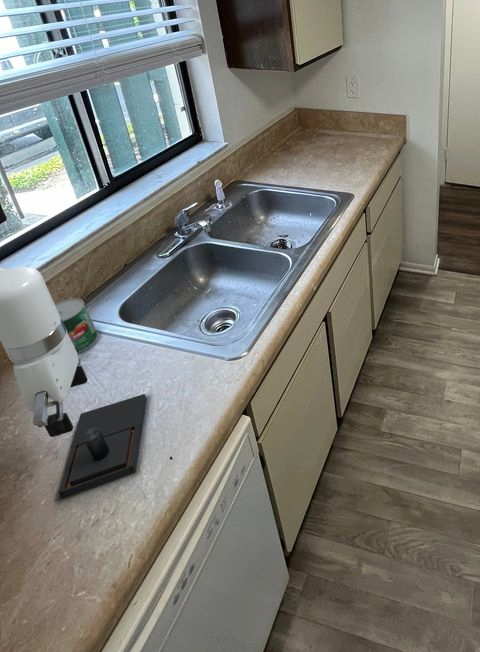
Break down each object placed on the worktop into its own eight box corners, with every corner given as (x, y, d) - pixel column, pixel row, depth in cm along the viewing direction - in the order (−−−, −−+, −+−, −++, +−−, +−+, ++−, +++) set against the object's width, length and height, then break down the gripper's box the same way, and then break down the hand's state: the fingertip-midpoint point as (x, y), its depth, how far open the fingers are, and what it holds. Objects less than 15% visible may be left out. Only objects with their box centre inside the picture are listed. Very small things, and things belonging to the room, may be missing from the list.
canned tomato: (88, 325, 115) (74, 293, 111) (104, 337, 112) (90, 305, 107) (54, 347, 109) (37, 314, 104) (70, 360, 106) (54, 327, 101)
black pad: (71, 486, 80) (56, 462, 77) (81, 449, 86) (68, 426, 82) (127, 466, 83) (115, 442, 79) (132, 432, 89) (122, 409, 85)
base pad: (60, 499, 79) (57, 493, 78) (83, 419, 92) (80, 413, 91) (135, 472, 83) (133, 466, 82) (146, 399, 96) (144, 393, 95)
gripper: (27, 307, 76) (60, 374, 84) (-17, 391, 62) (27, 463, 69) (77, 295, 79) (105, 362, 86) (46, 374, 64) (83, 445, 72)
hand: (70, 407), depth 78 cm, fingers open, 9 cm apart
